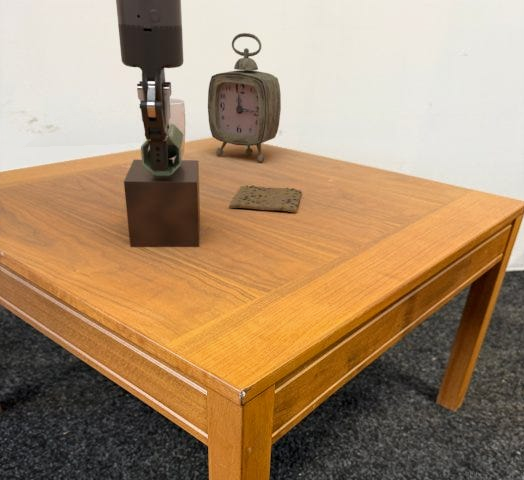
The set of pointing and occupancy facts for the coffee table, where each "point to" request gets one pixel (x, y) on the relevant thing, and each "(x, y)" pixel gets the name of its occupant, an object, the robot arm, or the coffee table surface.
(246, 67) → the tabletop clock
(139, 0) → the robot arm
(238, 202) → the cookie
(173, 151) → the cup
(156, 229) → the block
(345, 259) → the coffee table surface
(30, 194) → the coffee table surface
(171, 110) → the drinking glass
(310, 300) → the coffee table surface
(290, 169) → the coffee table surface
